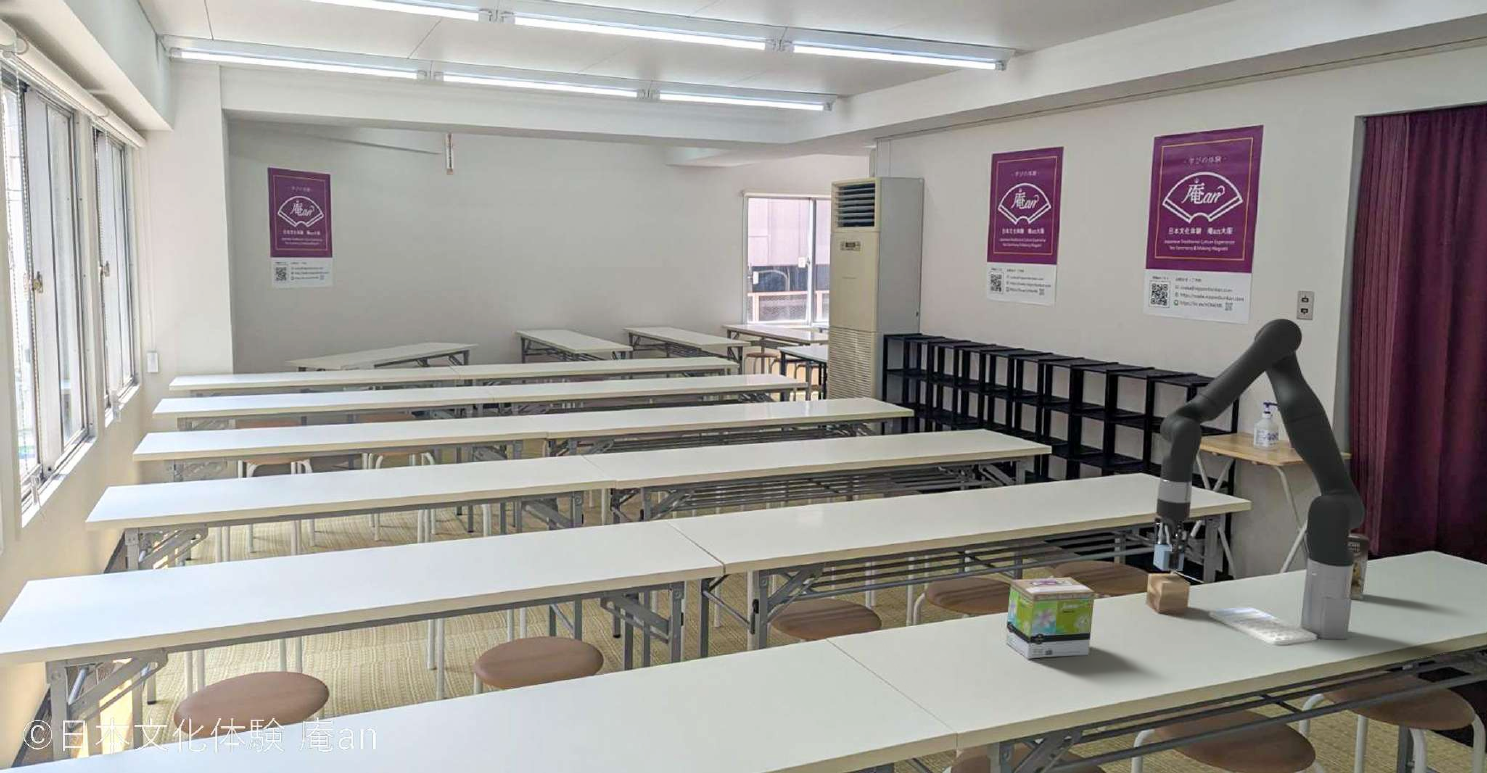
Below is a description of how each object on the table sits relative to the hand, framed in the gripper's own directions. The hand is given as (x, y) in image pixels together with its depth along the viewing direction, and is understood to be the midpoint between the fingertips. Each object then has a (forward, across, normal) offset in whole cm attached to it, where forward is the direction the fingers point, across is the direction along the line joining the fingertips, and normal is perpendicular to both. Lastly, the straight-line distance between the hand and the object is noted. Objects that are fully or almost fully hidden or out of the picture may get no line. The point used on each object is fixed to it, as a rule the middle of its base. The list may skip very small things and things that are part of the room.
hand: (1167, 564), depth 253 cm
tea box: (+11, -28, +39) cm, 49 cm away
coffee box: (+11, +12, -53) cm, 55 cm away
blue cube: (+1, 0, 0) cm, 1 cm away
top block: (+7, -1, 0) cm, 7 cm away
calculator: (+12, -12, -18) cm, 25 cm away
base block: (+11, -1, 0) cm, 11 cm away
